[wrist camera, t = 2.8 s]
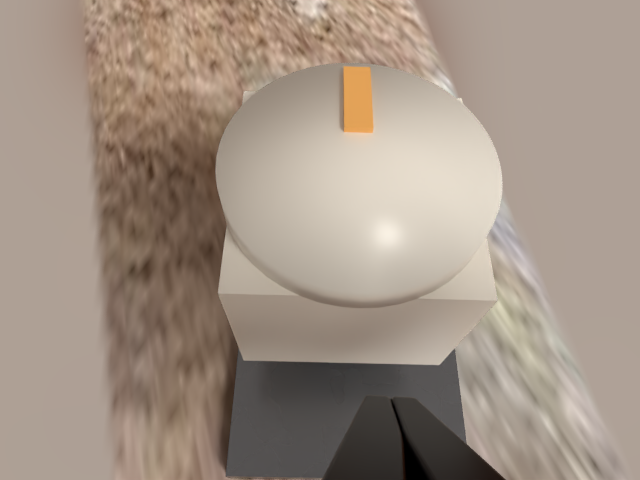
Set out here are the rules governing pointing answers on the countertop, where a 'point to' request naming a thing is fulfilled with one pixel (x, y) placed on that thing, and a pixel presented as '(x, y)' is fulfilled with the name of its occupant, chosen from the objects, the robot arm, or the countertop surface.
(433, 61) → the countertop surface
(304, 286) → the knob
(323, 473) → the plate
